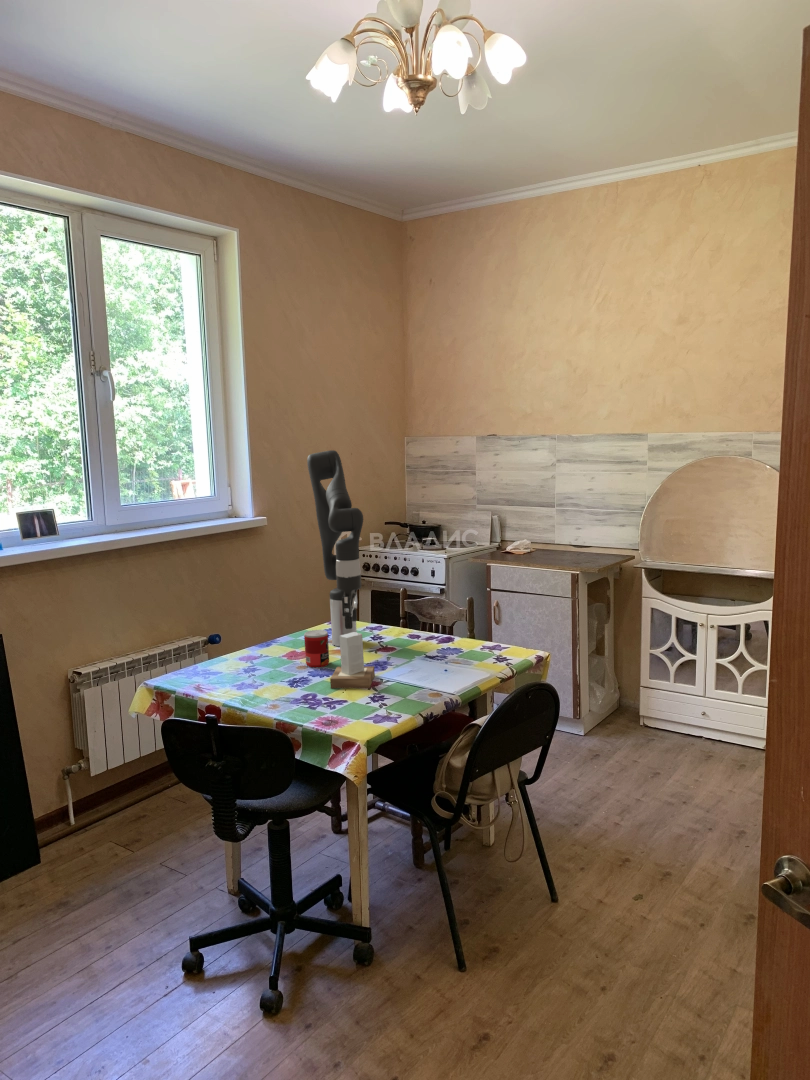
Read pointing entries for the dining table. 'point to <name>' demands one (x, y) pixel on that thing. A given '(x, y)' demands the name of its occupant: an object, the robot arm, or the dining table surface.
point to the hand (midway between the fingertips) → (351, 624)
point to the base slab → (353, 678)
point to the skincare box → (351, 653)
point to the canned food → (316, 648)
